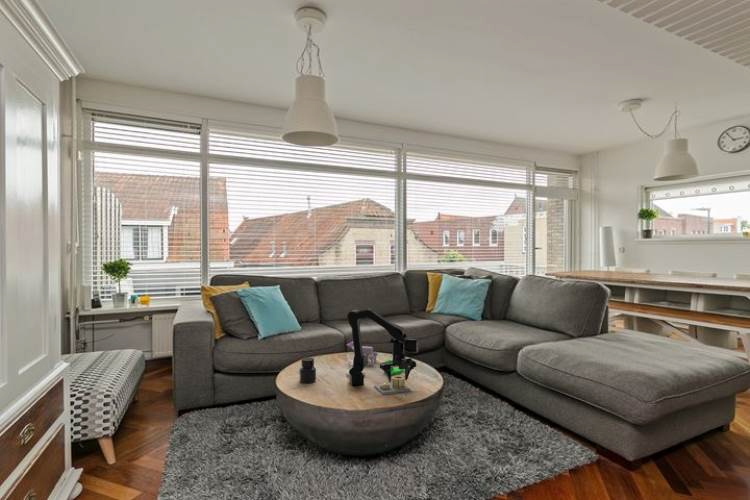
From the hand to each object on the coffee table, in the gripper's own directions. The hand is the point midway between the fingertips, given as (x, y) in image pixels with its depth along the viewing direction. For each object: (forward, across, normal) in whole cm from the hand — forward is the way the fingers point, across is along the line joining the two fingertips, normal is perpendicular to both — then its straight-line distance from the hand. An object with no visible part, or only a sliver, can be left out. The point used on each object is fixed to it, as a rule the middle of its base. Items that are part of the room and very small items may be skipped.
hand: (398, 381), depth 213 cm
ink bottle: (+4, -41, +29) cm, 50 cm away
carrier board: (+4, -4, 0) cm, 5 cm away
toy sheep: (+4, -2, +50) cm, 50 cm away
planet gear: (+2, 0, 0) cm, 2 cm away
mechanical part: (+4, +9, +24) cm, 27 cm away
